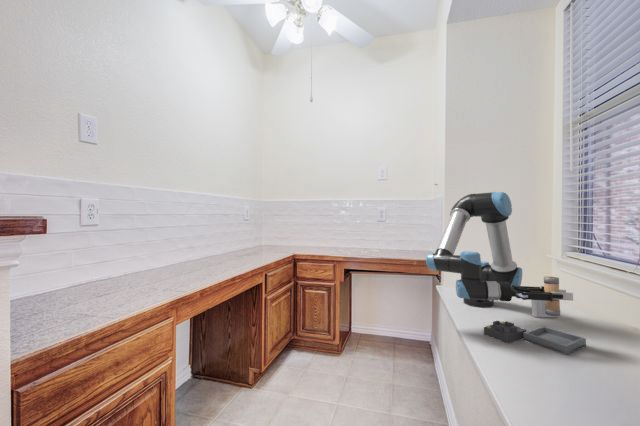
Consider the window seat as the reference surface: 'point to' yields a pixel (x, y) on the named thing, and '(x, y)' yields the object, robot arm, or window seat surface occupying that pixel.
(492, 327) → the fuse holder
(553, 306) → the fuse
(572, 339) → the parts tray
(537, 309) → the grey rounded slab
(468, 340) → the window seat surface
